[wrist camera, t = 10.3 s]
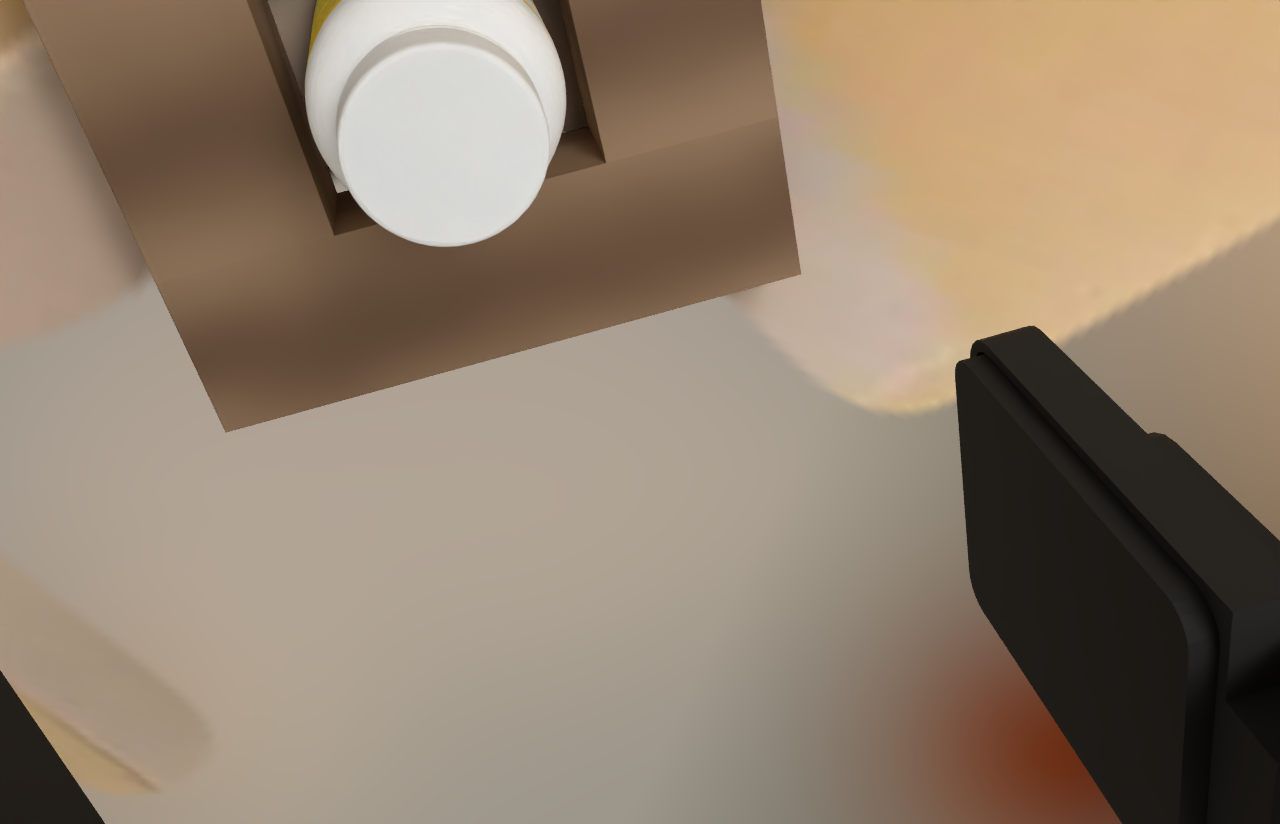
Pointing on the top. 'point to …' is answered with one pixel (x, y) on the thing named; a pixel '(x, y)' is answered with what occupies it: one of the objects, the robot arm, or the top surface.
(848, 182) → the top surface
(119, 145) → the socket block
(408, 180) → the supplement bottle
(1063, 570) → the robot arm
